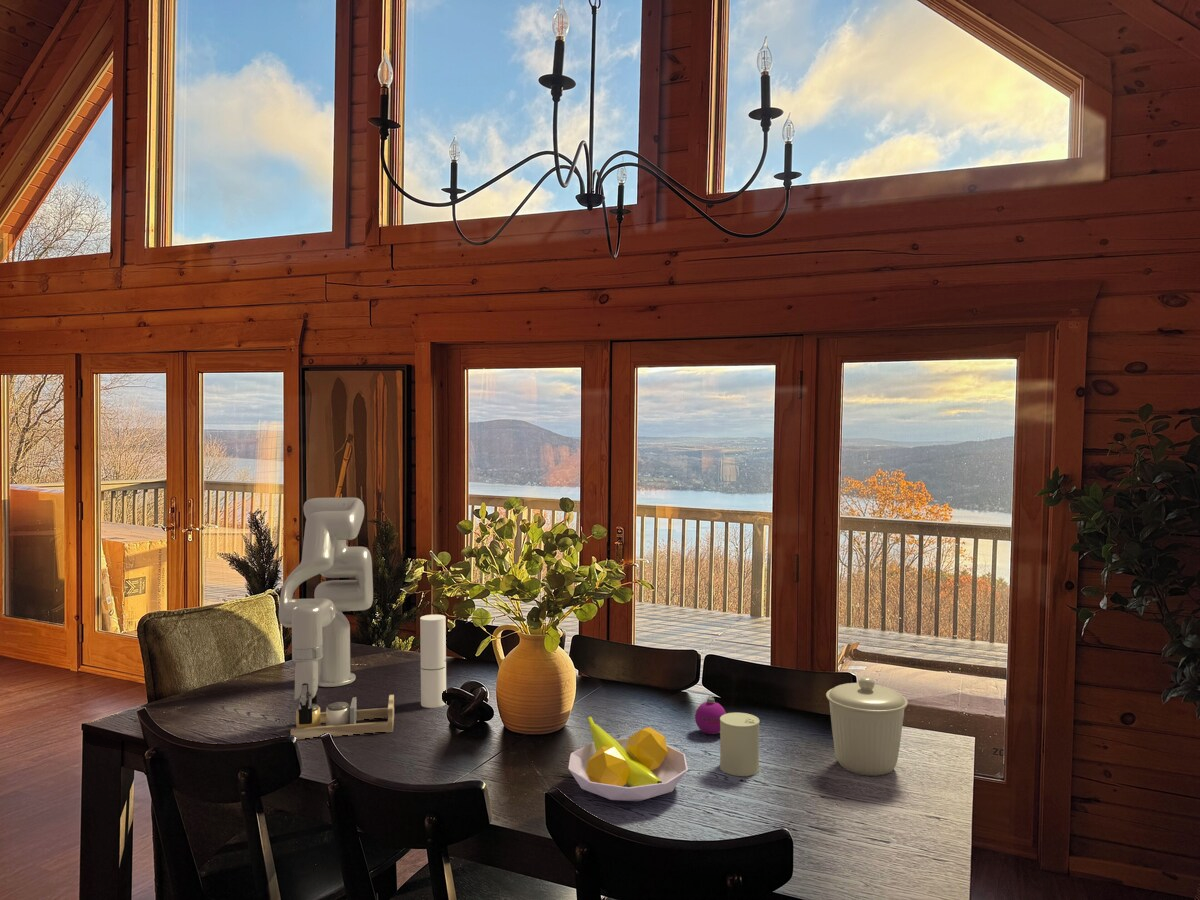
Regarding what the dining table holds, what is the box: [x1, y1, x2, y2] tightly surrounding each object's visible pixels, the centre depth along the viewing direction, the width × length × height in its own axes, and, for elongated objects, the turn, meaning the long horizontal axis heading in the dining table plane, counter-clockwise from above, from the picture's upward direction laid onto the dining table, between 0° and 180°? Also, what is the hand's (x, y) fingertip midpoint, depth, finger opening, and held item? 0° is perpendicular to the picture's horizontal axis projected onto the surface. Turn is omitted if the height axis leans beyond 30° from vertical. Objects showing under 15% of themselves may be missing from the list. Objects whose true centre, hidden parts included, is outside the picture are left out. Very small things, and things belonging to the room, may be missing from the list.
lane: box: [290, 694, 395, 740], centre depth 217 cm, size 12×25×6 cm, turn 102°
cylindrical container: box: [419, 614, 447, 709], centre depth 235 cm, size 7×7×25 cm
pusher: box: [350, 696, 358, 724], centre depth 217 cm, size 9×1×6 cm, turn 12°
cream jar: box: [325, 701, 351, 726], centre depth 217 cm, size 6×6×6 cm
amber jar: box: [295, 703, 321, 728], centre depth 215 cm, size 6×6×6 cm
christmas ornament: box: [694, 694, 727, 735], centre depth 213 cm, size 8×8×10 cm
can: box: [719, 712, 760, 777], centre depth 191 cm, size 9×9×12 cm
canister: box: [825, 676, 909, 777], centre depth 191 cm, size 18×18×21 cm
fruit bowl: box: [568, 716, 689, 802], centre depth 182 cm, size 28×27×11 cm
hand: (308, 717), depth 215 cm, fingers open, 9 cm apart
